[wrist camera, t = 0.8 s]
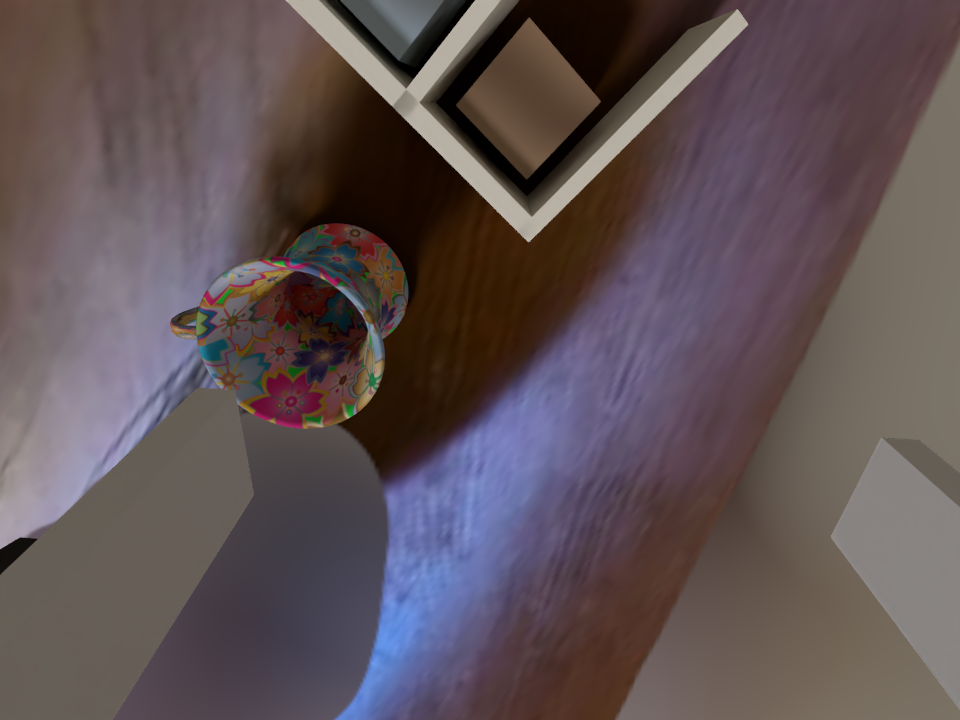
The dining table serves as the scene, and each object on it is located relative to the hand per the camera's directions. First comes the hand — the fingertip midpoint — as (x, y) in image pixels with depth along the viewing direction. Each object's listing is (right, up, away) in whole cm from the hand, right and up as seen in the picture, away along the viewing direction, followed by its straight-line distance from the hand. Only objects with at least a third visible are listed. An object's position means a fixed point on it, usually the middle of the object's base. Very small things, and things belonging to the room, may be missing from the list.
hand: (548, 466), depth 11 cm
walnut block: (+1, +17, +19) cm, 25 cm away
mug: (-12, +8, +24) cm, 28 cm away
